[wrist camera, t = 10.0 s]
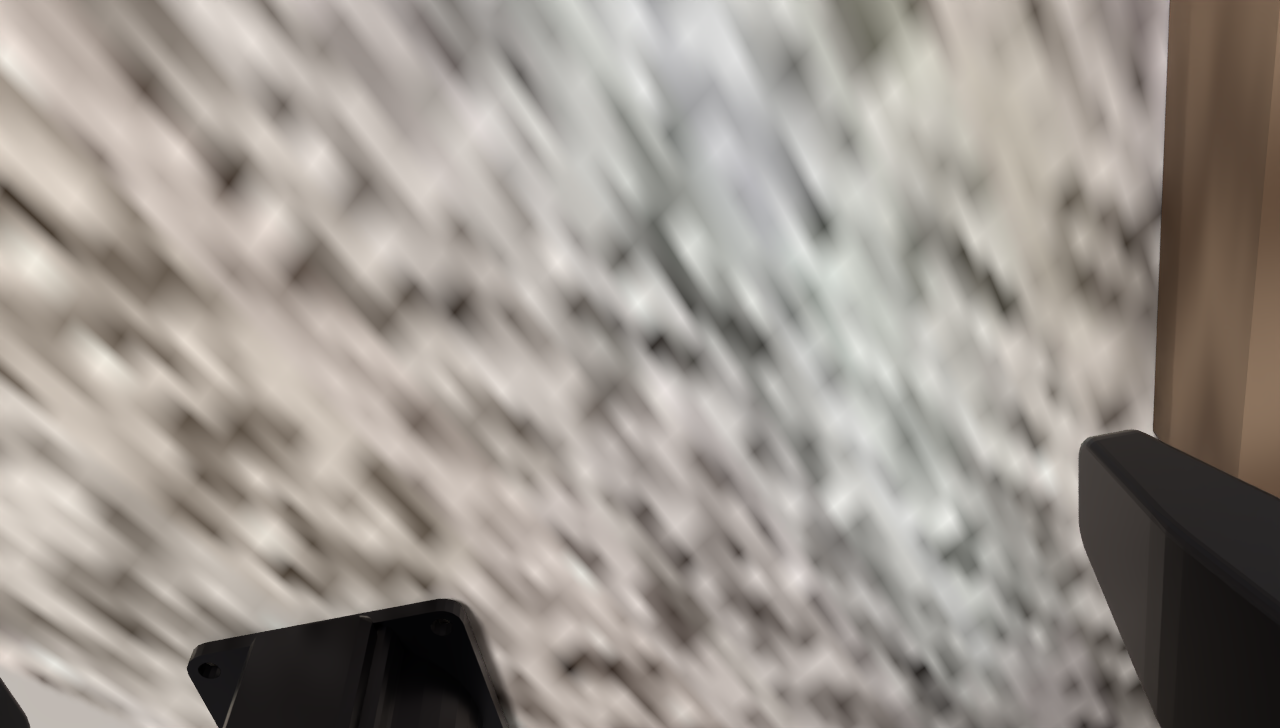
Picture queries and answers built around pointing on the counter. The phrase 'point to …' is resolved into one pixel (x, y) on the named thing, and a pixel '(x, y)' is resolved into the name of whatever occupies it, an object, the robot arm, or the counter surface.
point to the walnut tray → (1221, 240)
